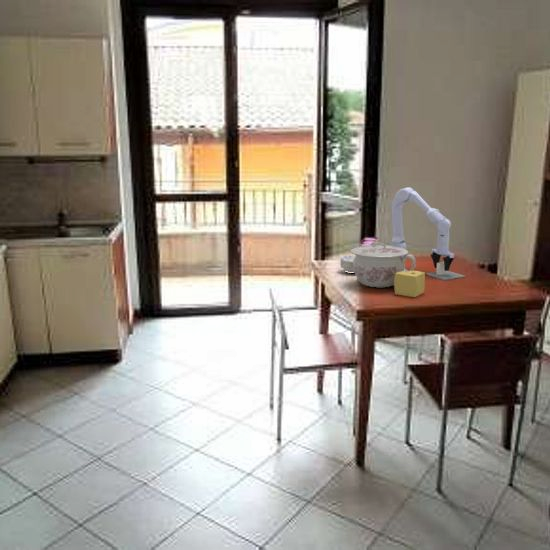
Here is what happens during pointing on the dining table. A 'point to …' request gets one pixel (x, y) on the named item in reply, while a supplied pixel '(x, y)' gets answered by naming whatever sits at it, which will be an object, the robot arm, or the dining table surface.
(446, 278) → the mat
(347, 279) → the dining table surface
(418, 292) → the cheese
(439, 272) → the block
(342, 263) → the paper bowls
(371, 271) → the chamber pot
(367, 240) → the gum box
